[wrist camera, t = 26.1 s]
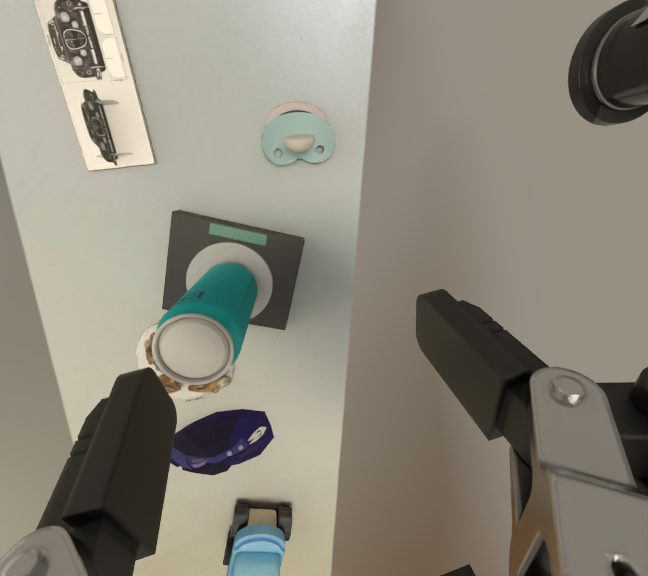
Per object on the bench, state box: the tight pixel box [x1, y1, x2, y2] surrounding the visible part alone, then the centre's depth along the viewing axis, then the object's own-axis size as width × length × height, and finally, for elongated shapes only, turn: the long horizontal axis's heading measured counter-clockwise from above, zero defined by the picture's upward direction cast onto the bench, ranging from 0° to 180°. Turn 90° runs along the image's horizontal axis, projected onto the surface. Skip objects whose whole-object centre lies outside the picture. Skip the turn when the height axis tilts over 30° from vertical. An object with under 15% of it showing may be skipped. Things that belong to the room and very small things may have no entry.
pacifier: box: [262, 102, 335, 165], centre depth 31 cm, size 7×6×6 cm
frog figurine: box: [136, 321, 234, 401], centre depth 39 cm, size 12×12×4 cm
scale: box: [162, 210, 304, 330], centre depth 36 cm, size 14×11×3 cm
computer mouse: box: [170, 409, 274, 475], centre depth 43 cm, size 9×15×4 cm, turn 104°
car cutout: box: [34, 0, 157, 171], centre depth 29 cm, size 15×7×4 cm, turn 6°
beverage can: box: [152, 263, 258, 385], centre depth 28 cm, size 6×6×15 cm
